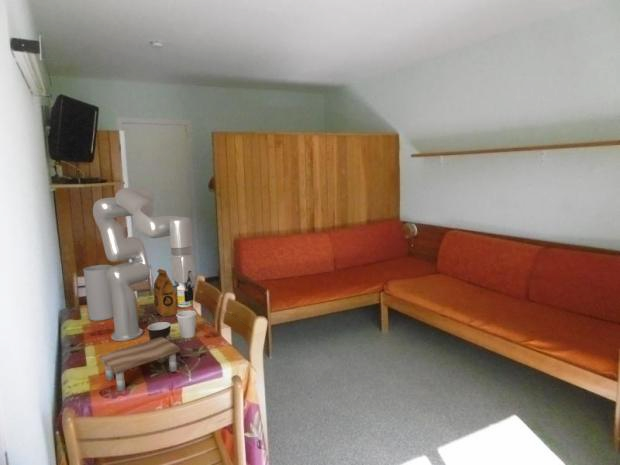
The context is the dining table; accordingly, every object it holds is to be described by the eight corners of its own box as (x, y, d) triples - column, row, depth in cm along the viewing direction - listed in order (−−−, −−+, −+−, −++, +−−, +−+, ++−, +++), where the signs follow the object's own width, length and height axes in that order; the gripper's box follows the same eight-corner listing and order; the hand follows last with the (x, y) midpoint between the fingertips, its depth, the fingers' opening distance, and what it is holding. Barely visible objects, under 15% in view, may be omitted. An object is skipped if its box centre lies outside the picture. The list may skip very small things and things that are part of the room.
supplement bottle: (183, 308, 149) (181, 282, 148) (175, 305, 153) (173, 280, 151) (195, 304, 153) (194, 279, 152) (187, 301, 157) (186, 277, 155)
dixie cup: (174, 339, 173) (173, 317, 171) (181, 332, 181) (180, 310, 180) (194, 339, 173) (193, 316, 171) (200, 331, 181) (198, 310, 179)
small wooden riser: (102, 379, 141) (99, 355, 139) (163, 357, 156) (161, 336, 155) (117, 394, 131) (114, 369, 130) (181, 369, 146) (179, 347, 145)
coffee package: (158, 318, 199) (155, 274, 195) (153, 311, 209) (150, 269, 206) (179, 314, 204) (176, 271, 200) (173, 308, 214) (170, 266, 211)
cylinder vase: (122, 315, 205) (117, 266, 202) (98, 323, 195) (92, 271, 191) (107, 311, 212) (102, 263, 208) (83, 318, 201) (78, 269, 198)
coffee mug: (159, 356, 157) (157, 331, 156) (144, 351, 162) (142, 327, 160) (183, 345, 167) (181, 321, 165) (169, 341, 171) (167, 318, 170)
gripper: (161, 249, 153) (165, 296, 156) (183, 256, 141) (187, 306, 144) (180, 246, 158) (183, 292, 161) (203, 252, 146) (206, 301, 149)
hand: (185, 298), depth 152 cm, fingers closed on supplement bottle, 5 cm apart
